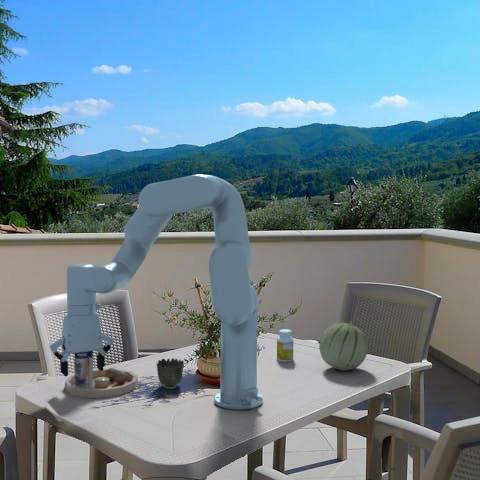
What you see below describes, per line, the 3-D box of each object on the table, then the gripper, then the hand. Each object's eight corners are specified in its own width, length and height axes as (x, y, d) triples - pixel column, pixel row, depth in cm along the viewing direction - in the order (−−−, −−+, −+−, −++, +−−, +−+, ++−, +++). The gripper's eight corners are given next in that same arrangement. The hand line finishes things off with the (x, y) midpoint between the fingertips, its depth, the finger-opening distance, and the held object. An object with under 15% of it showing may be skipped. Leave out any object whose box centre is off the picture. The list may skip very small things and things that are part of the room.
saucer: (147, 393, 165) (147, 382, 165) (78, 406, 155) (78, 394, 155) (122, 375, 181) (122, 365, 181) (57, 385, 171) (57, 375, 171)
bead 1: (119, 381, 172) (119, 368, 172) (107, 383, 170) (107, 370, 170) (115, 377, 175) (115, 365, 175) (103, 379, 174) (103, 367, 173)
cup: (179, 395, 164) (178, 366, 163) (153, 393, 165) (152, 364, 164) (187, 386, 171) (186, 358, 170) (161, 384, 172) (161, 357, 172)
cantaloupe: (309, 368, 189) (309, 321, 188) (339, 360, 198) (340, 314, 197) (346, 379, 178) (347, 329, 177) (377, 370, 187) (378, 322, 186)
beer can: (71, 390, 164) (70, 347, 163) (81, 385, 168) (81, 342, 167) (86, 393, 162) (85, 348, 161) (96, 387, 167) (96, 344, 166)
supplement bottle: (275, 357, 201) (275, 328, 200) (291, 357, 202) (291, 328, 201) (278, 362, 196) (278, 332, 195) (294, 362, 196) (295, 332, 195)
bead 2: (129, 384, 169) (129, 371, 169) (117, 386, 167) (116, 373, 167) (124, 381, 172) (124, 368, 172) (112, 383, 170) (112, 370, 170)
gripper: (108, 304, 171) (108, 364, 173) (45, 310, 162) (46, 373, 163) (117, 309, 165) (118, 370, 166) (53, 315, 156) (54, 381, 157)
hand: (82, 372), depth 165 cm, fingers open, 9 cm apart
